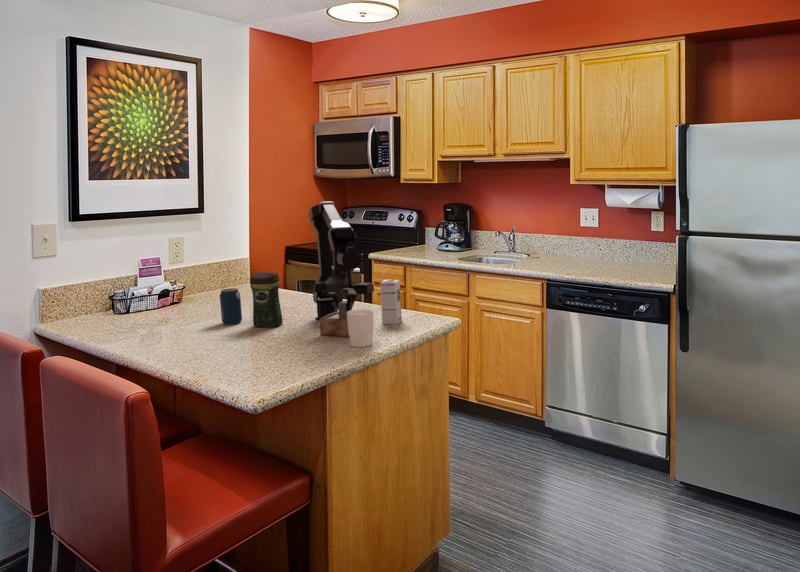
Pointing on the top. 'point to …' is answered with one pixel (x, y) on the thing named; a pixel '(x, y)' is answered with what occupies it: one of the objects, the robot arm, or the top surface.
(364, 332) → the beige cup
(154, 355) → the top surface
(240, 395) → the top surface
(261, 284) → the coffee jar
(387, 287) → the syrup box
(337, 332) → the walnut box
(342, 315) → the cover plate
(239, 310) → the soda can
